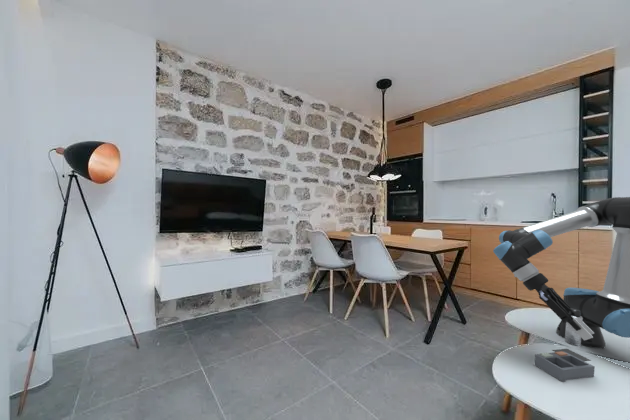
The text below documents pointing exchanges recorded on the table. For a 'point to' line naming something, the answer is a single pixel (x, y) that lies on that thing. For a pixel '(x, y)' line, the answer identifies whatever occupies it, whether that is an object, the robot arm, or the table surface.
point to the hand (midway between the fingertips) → (589, 336)
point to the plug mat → (572, 354)
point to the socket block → (564, 366)
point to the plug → (570, 333)
